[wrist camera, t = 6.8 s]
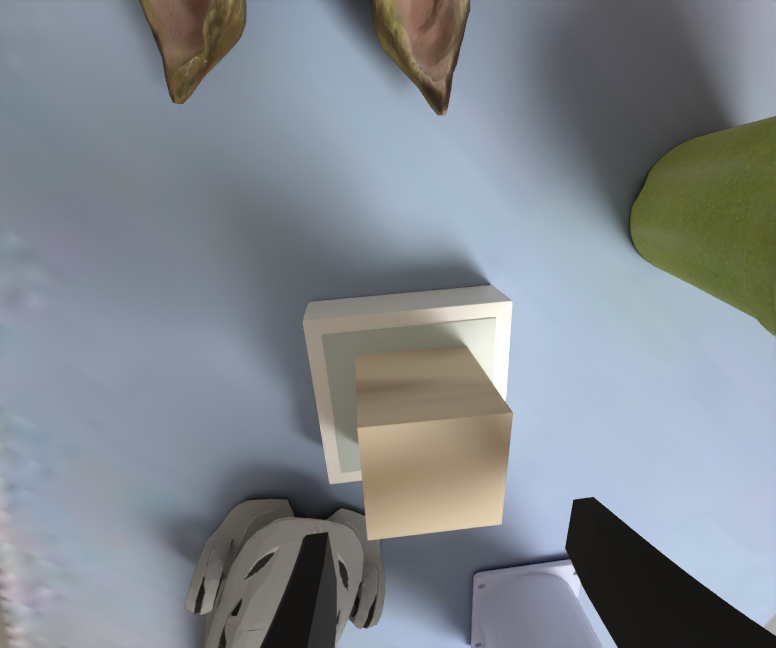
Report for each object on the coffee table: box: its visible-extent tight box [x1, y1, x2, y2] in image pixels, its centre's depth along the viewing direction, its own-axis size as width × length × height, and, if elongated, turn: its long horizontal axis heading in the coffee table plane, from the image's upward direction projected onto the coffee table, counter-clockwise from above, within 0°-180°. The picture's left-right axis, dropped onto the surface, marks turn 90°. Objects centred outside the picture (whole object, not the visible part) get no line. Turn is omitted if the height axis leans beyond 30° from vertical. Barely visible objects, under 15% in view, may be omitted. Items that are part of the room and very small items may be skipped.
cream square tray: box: [302, 285, 512, 484], centre depth 18 cm, size 9×9×2 cm
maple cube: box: [355, 346, 513, 540], centre depth 15 cm, size 5×5×5 cm
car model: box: [185, 499, 385, 648], centre depth 24 cm, size 11×24×5 cm, turn 162°
